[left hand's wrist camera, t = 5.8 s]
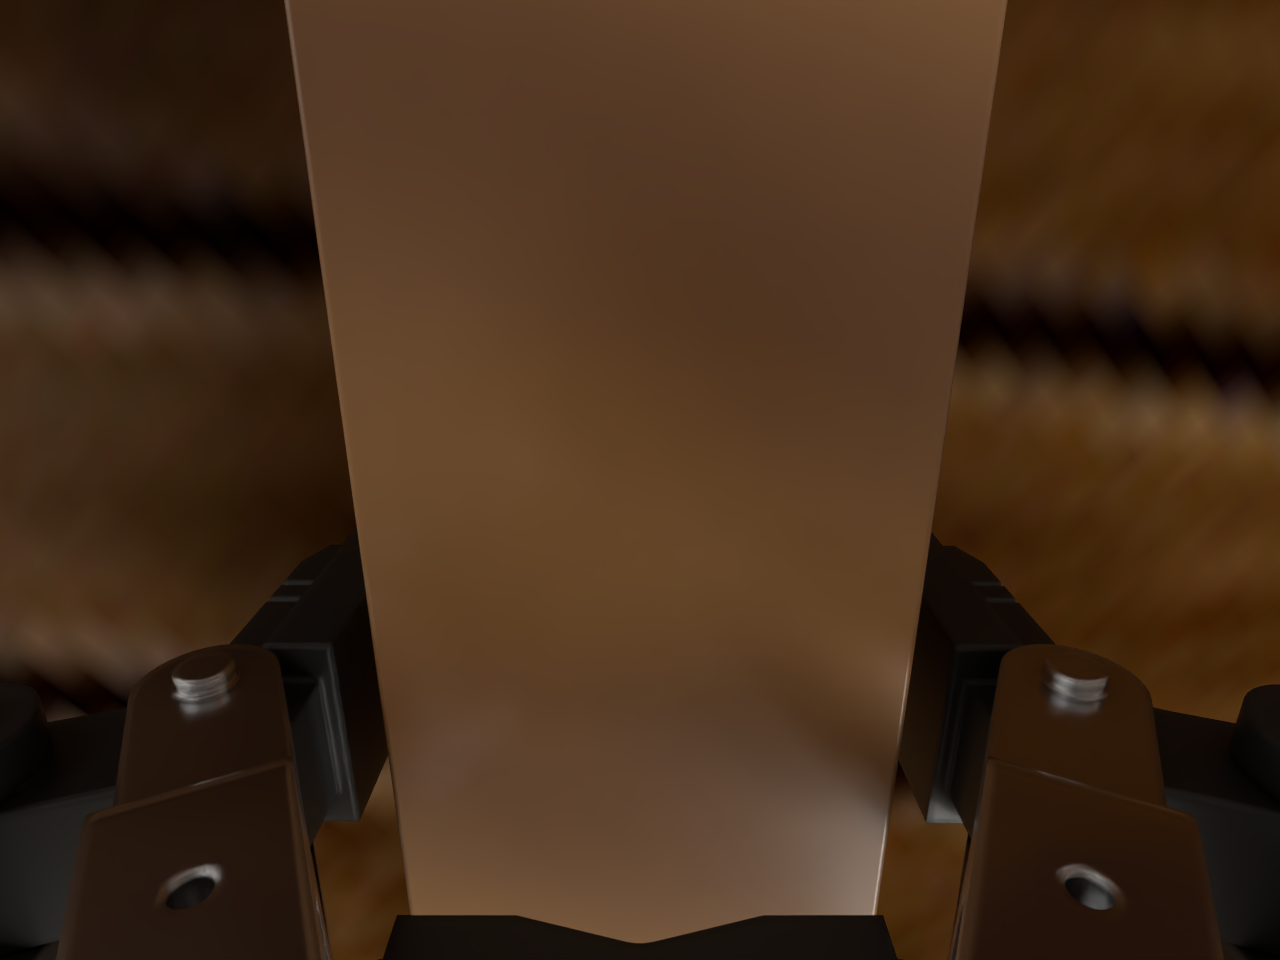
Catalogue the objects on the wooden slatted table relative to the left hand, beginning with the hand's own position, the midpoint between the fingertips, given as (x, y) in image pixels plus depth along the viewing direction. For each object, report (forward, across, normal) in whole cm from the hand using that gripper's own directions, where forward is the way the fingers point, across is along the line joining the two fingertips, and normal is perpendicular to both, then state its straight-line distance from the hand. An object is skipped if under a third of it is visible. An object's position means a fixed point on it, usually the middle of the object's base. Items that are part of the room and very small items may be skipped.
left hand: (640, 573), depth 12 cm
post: (+2, 0, -24) cm, 24 cm away
